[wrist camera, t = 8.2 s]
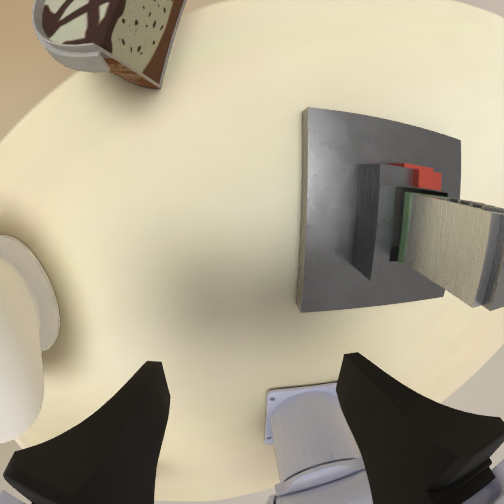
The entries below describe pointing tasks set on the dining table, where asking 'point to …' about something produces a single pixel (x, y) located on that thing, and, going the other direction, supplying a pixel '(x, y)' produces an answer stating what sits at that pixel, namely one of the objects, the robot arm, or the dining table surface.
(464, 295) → the block
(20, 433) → the decorative vase
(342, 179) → the base
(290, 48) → the dining table surface
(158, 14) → the food container
